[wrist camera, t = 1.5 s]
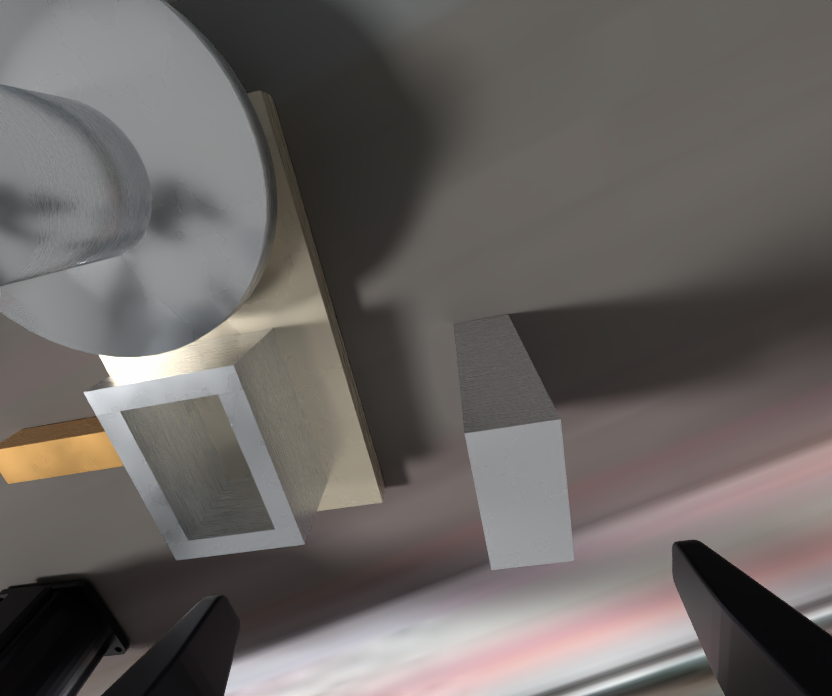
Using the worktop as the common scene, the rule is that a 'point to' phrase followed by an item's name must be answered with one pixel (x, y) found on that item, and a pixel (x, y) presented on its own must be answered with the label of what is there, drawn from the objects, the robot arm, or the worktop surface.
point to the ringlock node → (172, 278)
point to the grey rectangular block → (512, 447)
